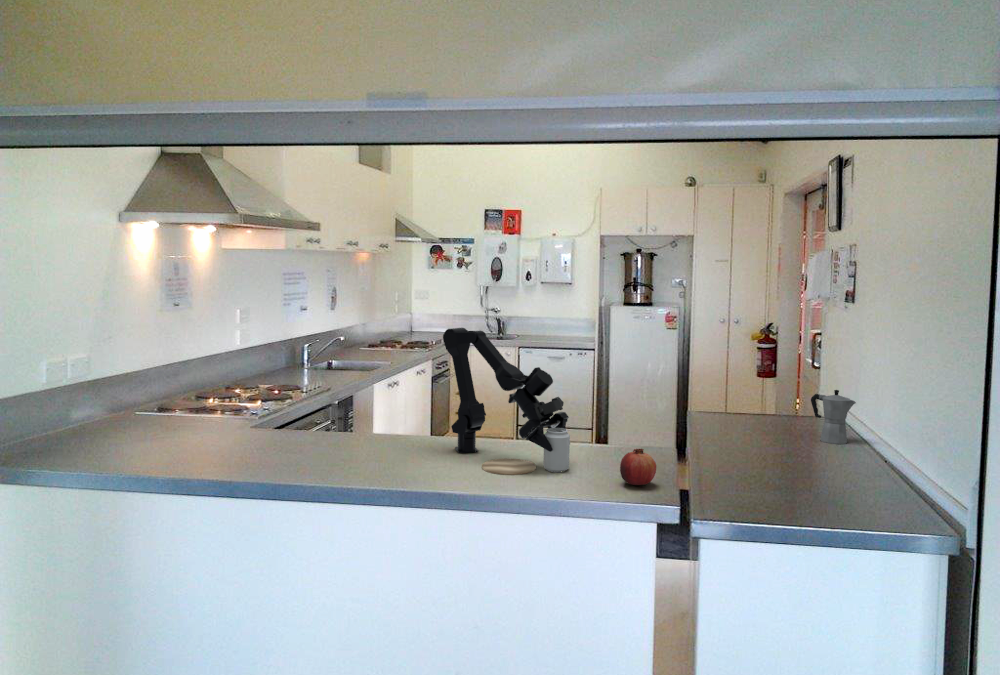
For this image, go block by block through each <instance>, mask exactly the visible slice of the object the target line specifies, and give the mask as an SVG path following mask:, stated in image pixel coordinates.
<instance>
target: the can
mask: <svg viewBox="0 0 1000 675" xmlns="http://www.w3.org/2000/svg"><path fill="white" fill-rule="evenodd" d="M544 435H545V436H546V438H547V440H548V441H549V443H550V445H551V446H552V448H553V450H552V451H551V452H549V451H548V450H546V449H544V448H543V468H544V469H545V471H547V470H548V471H547V472H550V471H551V473H562V472H561V471H565V470H566V471H568V469H569V468H570V450H571V448H570V446H571V440H570V439H571V437H570V436H571V435H570V434H569V431H568V429H567V428H566V429H564V428H549V429H548V428H547V429H546V432H545V433H544ZM566 471H565V472H566Z"/></svg>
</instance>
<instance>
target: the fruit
mask: <svg viewBox="0 0 1000 675" xmlns="http://www.w3.org/2000/svg"><path fill="white" fill-rule="evenodd" d="M644 449H645V448H636V449H635V448H634V449H633V450H632V451H631V452H627V453H626V454H624V456H623V457H622V459H621V462H620V464H619V466H620V467H619V472H620V477H621V478H622V480H623V481H624V482H625V483H627V484H628V485H633V486H644V485H645V486H646V485H647V484H648V485H649V483H651V482H652V481H653V480H654V478H655V476H656V473H657V463H656V461H655V460H654V459H655V458H653V457H652V455H650V454H648V453H646V452H644Z"/></svg>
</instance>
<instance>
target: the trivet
mask: <svg viewBox="0 0 1000 675" xmlns="http://www.w3.org/2000/svg"><path fill="white" fill-rule="evenodd" d="M481 469H482V470H484V471H485V472H487V473H491V474H494V475H495V474H496V475H500V476H501V475H503V476H504V475H505V476H517V475H519V476H520V475H527V474H531V473H533V472H534V471H535V472H536V469H537V465H536V464H535V463H534V462H532V461H529V460H526V459H520V458H495V459H490V460H489V459H488V460H487V461H484V462H483V463H482V464H481Z"/></svg>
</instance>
